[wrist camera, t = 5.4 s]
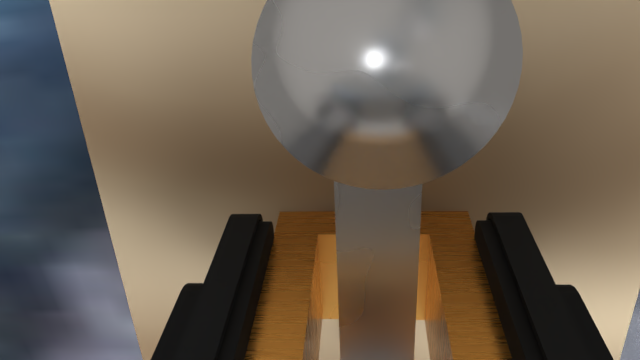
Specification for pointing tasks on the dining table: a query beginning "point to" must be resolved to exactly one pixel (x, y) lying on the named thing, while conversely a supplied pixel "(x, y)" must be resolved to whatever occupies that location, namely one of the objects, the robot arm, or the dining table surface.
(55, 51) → the dining table surface
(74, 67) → the board
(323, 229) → the block with bead chain
